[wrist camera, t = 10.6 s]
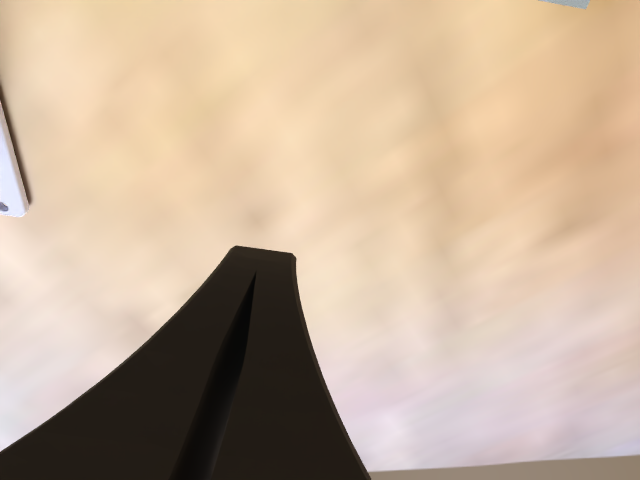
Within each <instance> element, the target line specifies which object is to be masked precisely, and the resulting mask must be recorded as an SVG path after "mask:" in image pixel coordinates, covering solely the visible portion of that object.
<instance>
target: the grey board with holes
mask: <svg viewBox="0 0 640 480" xmlns="http://www.w3.org/2000/svg"><path fill="white" fill-rule="evenodd" d="M540 1H545V2H551V3H556V4H561V5H566V6H572V7H577V8H582V9H586V8H587V6H588V4H589V1H590V0H540Z"/></svg>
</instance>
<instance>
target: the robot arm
mask: <svg viewBox="0 0 640 480" xmlns="http://www.w3.org/2000/svg"><path fill="white" fill-rule="evenodd" d="M3 203H5V204H6V205H7V206H6V205H4V204H3ZM28 211H29V204H28V200H27V197H26V193H25V189H24V186H23V182H22V178H21V175H20V171H19V167H18V164H17V160H16V156H15V153H14V149H13V145H12V142H11V138H10V134H9V131H8V127H7V123H6V120H5V116H4V112H3V109H2V105H1V101H0V214H1V215H8V216H14V217H22V216H24V215H25V214H26V213H27V212H28ZM0 480H371V478H370V476H369V474H368V472H367V470H366V468H365V466H364V464H363V463H362V461H361V459H360V457H359V455H358V453H357V451H356V449H355V447H354V446H353V444H352V442H351V440H350V438H349V435H348V433H347V431H346V429H345V427H344V425H343V422H342V420H341V418H340V416H339V414H338V412H337V409H336V407H335V405H334V402H333V400H332V397H331V395H330V393H329V390H328V388H327V385H326V383H325V380H324V378H323V375H322V372H321V370H320V367H319V364H318V361H317V358H316V355H315V352H314V349H313V346H312V343H311V340H310V336H309V333H308V329H307V325H306V322H305V318H304V314H303V310H302V306H301V301H300V296H299V290H298V284H297V276H296V257H295V256H294V255H293V254H292V253H287V252H279V251H272V250H265V249H257V248H250V247H243V246H234V247H233V248H231V249H230V250H229V252H228V253H227V255H226V256H225V257H224V259H223V260H222V261H221V262H220V264H219V265H218V266H217V268H216V269H215V270H214V271H213V272H212V274H211V275H210V276H209V277H208V278H207V280H206V281H205V282H204V283H203V284H202V285H201V287H200V288H199V289H198V290H197V291H196V292H195V293H194V294H193V295H192V296H191V297H190V299H189V300H188V301H187V302H186V303H185V304H184V305H183V306H182V307H181V308H180V309H179V310H178V311H177V312H176V313H175V314H174V315H173V316H172V317H171V318H170V319H169V320H168V321H167V322H166V323H165V324H164V325H163V326H162V327H161V328H160V329H159V330H158V331H157V332H156V333H155V334H154V335H153V336H152V337H151V338H150V339H149V340H148V341H146V342H145V343H144V344H143V345H142V346H141V347H140V348H139V349H138V350H136V351H135V352H134V353H133V354H132V355H131V356H130V357H129V358H127V359H126V360H125V361H124V362H123V363H122V364H120V365H119V366H118V367H117V368H115V369H114V370H113V371H112V372H111V373H109V374H108V375H107V376H106V377H105V378H103V379H102V380H101V381H100V382H98V383H97V384H96V385H94V386H93V387H92V388H90V389H89V390H88V391H86V392H85V393H84V394H82V395H81V396H80V397H78V398H77V399H76V400H75V401H73V402H72V403H71V404H69V405H68V406H67V407H65V408H64V409H63V410H61V411H60V412H58V413H57V414H56V415H54V416H53V417H51V418H50V419H49V420H47V421H46V422H44V423H43V424H41V425H40V426H39V427H37V428H36V429H34V430H33V431H31V432H30V433H28V434H27V435H25V436H24V437H22V438H20V439H19V440H17V441H16V442H14V443H13V444H11V445H10V446H8V447H7V448H5V449H4V450H2V451H1V452H0Z"/></svg>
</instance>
